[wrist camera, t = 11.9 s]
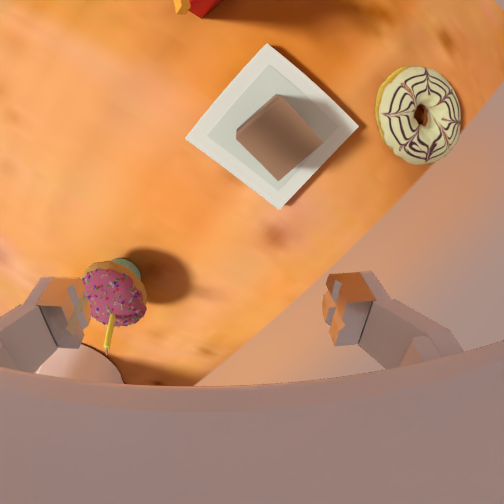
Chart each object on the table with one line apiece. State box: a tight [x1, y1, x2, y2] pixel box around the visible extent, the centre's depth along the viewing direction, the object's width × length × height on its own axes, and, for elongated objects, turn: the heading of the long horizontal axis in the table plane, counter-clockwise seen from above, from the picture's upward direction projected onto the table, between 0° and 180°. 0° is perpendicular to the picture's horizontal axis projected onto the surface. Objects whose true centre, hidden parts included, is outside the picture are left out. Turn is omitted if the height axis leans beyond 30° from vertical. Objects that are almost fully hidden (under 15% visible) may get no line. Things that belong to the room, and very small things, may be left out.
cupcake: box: [82, 258, 147, 355], centre depth 33 cm, size 9×8×12 cm
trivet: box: [185, 44, 359, 210], centre depth 29 cm, size 12×12×2 cm
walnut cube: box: [236, 94, 323, 181], centre depth 27 cm, size 5×5×5 cm
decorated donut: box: [375, 66, 461, 165], centre depth 28 cm, size 10×11×4 cm
